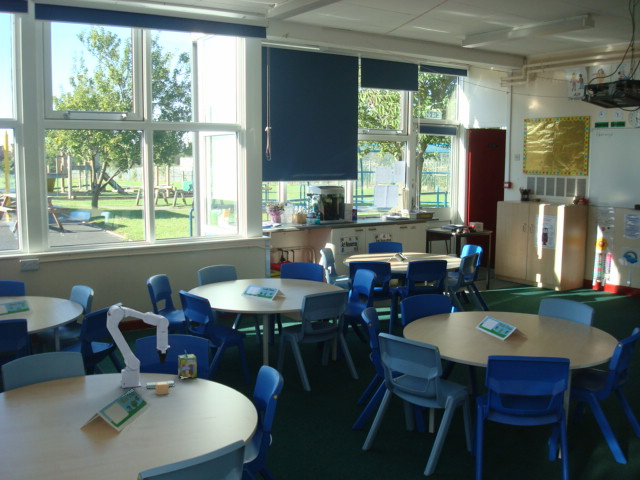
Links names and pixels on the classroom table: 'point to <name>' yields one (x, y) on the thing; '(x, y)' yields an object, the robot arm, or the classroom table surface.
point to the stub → (162, 388)
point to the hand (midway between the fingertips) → (162, 363)
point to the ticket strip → (153, 384)
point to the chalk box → (187, 365)
